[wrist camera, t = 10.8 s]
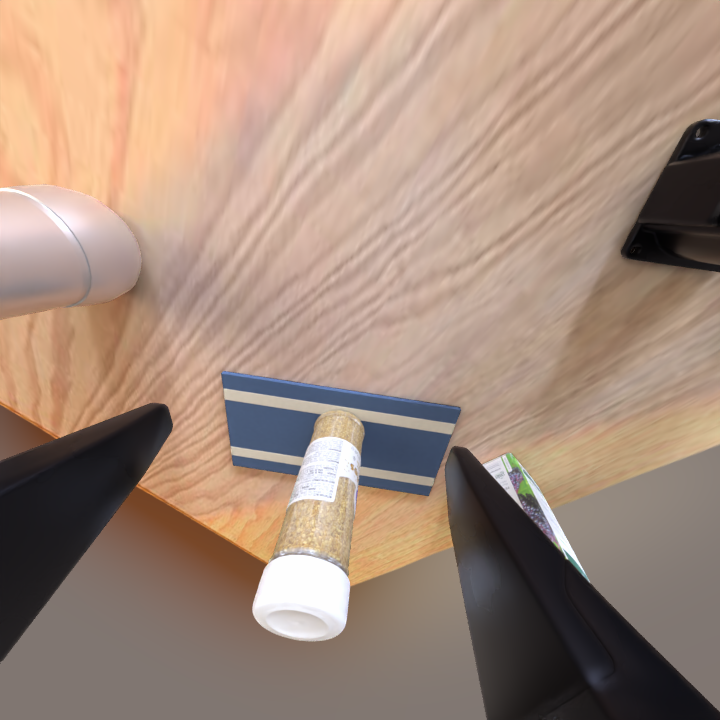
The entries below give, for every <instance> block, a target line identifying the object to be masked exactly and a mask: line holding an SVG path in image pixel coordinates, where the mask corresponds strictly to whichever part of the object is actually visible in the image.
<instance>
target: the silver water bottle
mask: <svg viewBox="0 0 720 720" xmlns="http://www.w3.org/2000/svg"><path fill="white" fill-rule="evenodd" d="M141 266H142V257H141V252H140V248H139V245H138V243H137V240H136V238H135V236H134V235H133V233H132V231H131V230H130V228H129V227H128V226H127V224H126V223H125V222H124V221H123V220H122V219H121V218H120V217H119V216H118V215H117V214H116V213H115V212H113V211H112V210H111V209H110V208H108V207H107V206H106V205H105V204H103V203H102V202H101V201H99V200H97V199H95V198H94V197H92V196H90V195H87V194H84V193H82V192H78V191H74V190H70V189H66V188H63V187H59V186H53V185H47V184H42V185H23V186H12V187H5V188H0V320H2V319H7V318H12V317H17V316H22V315H27V314H32V313H37V312H42V311H47V310H52V309H57V308H63V307H79V306H88V305H94V304H100V303H106V302H109V301H112V300H114V299H116V298H117V297H119V296H121V295H123V294H124V293H126V292H128V291H129V290H131V289H132V288H133V287H134V285H135V284H136V282H137V280H138V278H139V275H140V272H141Z"/></svg>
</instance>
